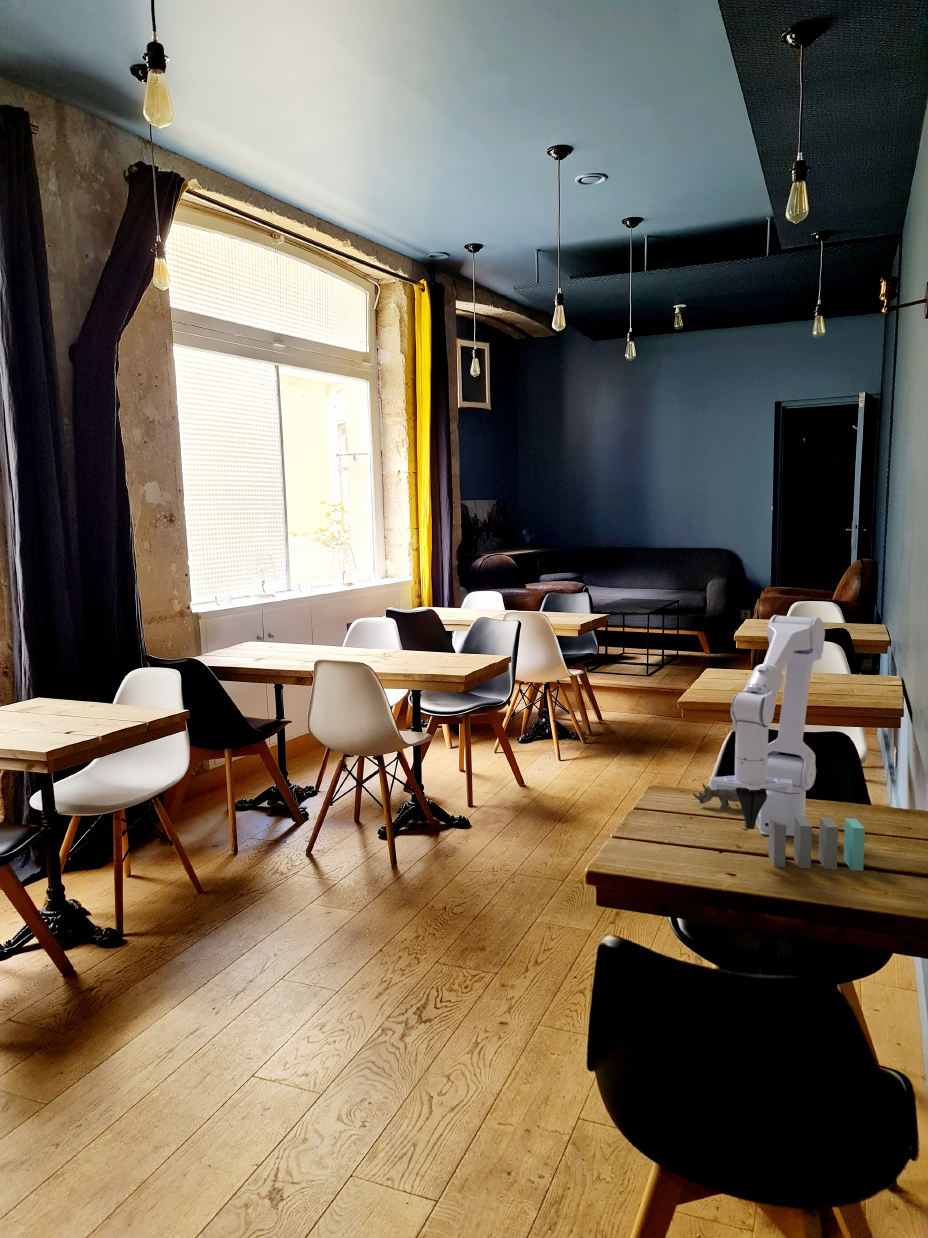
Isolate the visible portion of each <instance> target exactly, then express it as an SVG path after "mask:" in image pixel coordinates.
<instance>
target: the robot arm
mask: <svg viewBox="0 0 928 1238" xmlns="http://www.w3.org/2000/svg"><path fill="white" fill-rule="evenodd" d="M766 636H767V640H768V644H769V645H768V646H769V647H768V649H767V652H766V655H765V657H764V661H763V662H762V664H761V663H760V664H758V665H756V666H755V667H754V669H753V671H752V672H751V674H750V676H749V678H748V680H747V683H746V684H745V686H744V688H743V691H740V692H739V693H736V694H735V695H734V696H733V697H732V701H731V705H730V706H731V707H730V718H731V721H732V729H733V732H735V744H734V747H735V748H734V750H735V751H734V775H726V776H710V777H709V785H710V789H711V790H717V789H734V790H735V792H736V794H737V796H738V799H739V801H738V802H739V804H740V807H741V810H742V814H743V819H744V826H745V829H747V830H755V827H757V828H758V830H759V833H760V835H763V836H764V835H765V836H769V822H770V816H781V817H782V819H783V821H784V822H785V824H786V837H787V836H789V837H794V823H795V816H796V817H806V793H807V792H806V791H809V790H810V789H811V788H812V787H813V786H814V783H815V780H816V774H817V767H816V754H815V753H814V751H813V750H812V748H810V747H809V746H808V745H807V744H806V743H805V741H803V740H804V734H805V724H806V715H807V707H808V702H809V701H808V699H809V693H810V691H809V690H810V683H811V676H812V675H811V674H812V669H813V664H814V662H816V661H818V660H820V659H822V655H823V652H824V646H825V645H824V643H825V637H826V630H825V625H824V621H823V620H822V618H821V617H818V616H817V617H804V616H790V615H780V614H774V615H772V616H771V618H770V619H769V621H768V623H767V628H766ZM785 667H786V669H785ZM784 669H785V676H784V675H783V670H784ZM783 684H784V685H783ZM782 685H783V691H782V692H783V693H782V701H781V709H780V717H779V725H778V732H777V738H776V739H774V740H773V741H771V742H769V726H770V725H771V723H772V721H773V719H774V715H775V708H776V704H777V702H776V698H777V695H778V693H779V691H780V690H781V688H782ZM779 753H785V754H791V756H790V755H785V754H779ZM792 755H797V756H799V757H797V756H792Z"/></svg>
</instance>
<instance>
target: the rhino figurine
mask: <svg viewBox="0 0 928 1238" xmlns="http://www.w3.org/2000/svg"><path fill="white" fill-rule="evenodd" d="M702 788H703V789H704V791H703V792H701V791H700V792H698V794H699V795H697V794H695V793H694V792H693V793H692V795H693V797H694V798H695V799H697V800H698V801H699V803H700V804H701V805H702V804H703V805H704V804H706V803H707V802H708V803H709V802H710V801H712V799H713V798H718V800H719V802H720V804H721V805H720V806H719V811H726V810H727V808H728V807H729V806H730V803H729V802H733V803H737V802H739V799H738V796H737V794H736V792H735V790H734V789H717V790H711V789H710V784H709V785H706V784H705V783H702Z"/></svg>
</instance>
